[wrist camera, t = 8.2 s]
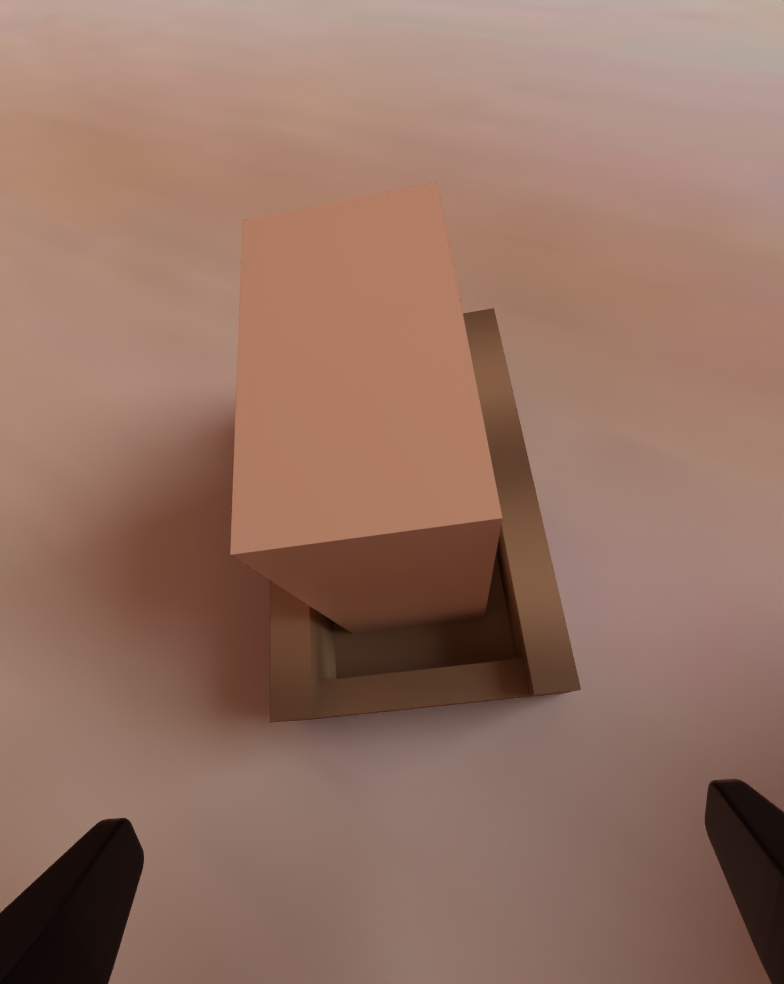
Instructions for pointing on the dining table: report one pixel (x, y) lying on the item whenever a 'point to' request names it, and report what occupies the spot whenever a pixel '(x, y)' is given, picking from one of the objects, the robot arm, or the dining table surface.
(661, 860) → the dining table surface
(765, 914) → the robot arm
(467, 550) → the terracotta block
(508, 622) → the walnut rack
